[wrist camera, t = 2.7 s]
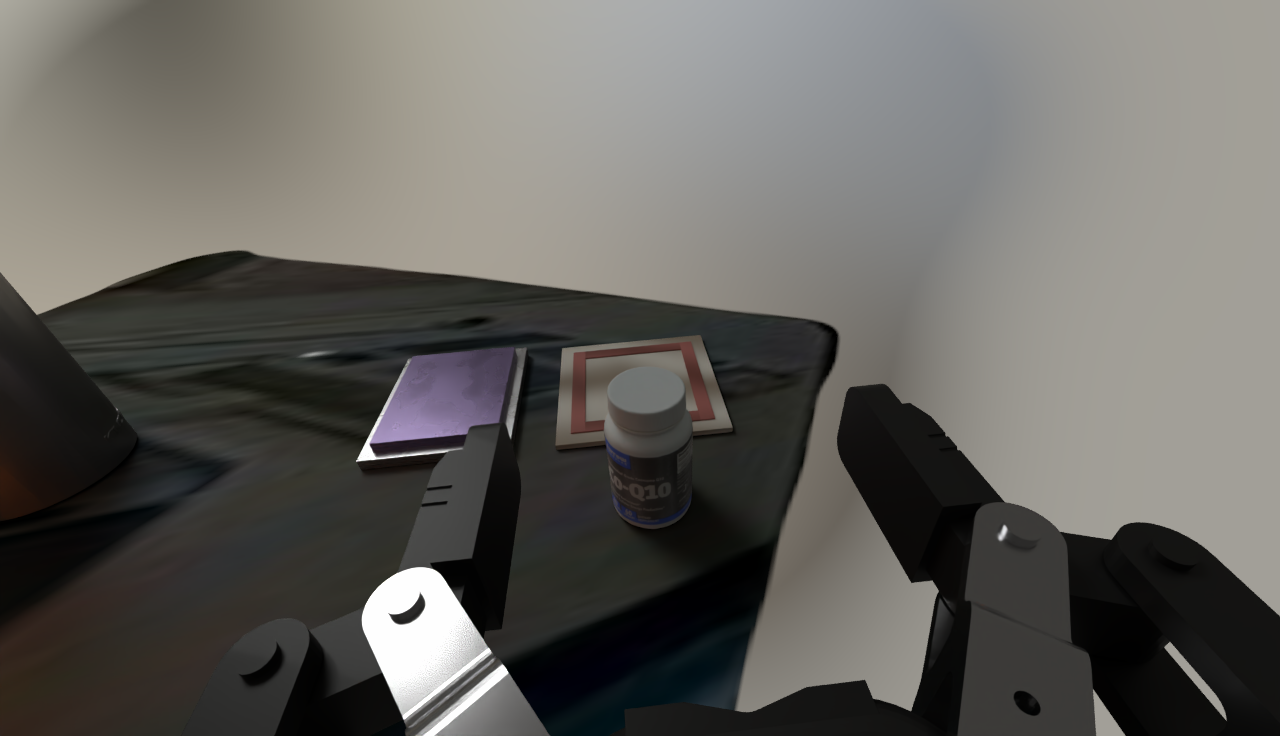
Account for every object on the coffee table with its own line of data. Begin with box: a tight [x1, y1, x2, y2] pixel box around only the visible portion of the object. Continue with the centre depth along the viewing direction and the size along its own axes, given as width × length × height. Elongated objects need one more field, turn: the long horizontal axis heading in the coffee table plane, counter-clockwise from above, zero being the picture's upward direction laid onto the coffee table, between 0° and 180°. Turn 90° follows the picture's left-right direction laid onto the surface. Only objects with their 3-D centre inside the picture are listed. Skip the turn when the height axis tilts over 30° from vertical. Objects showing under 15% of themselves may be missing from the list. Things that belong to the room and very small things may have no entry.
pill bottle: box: [604, 367, 693, 529], centre depth 28 cm, size 5×5×8 cm
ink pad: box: [356, 347, 529, 470], centre depth 38 cm, size 12×10×2 cm
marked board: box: [556, 335, 733, 450], centre depth 39 cm, size 12×12×1 cm
